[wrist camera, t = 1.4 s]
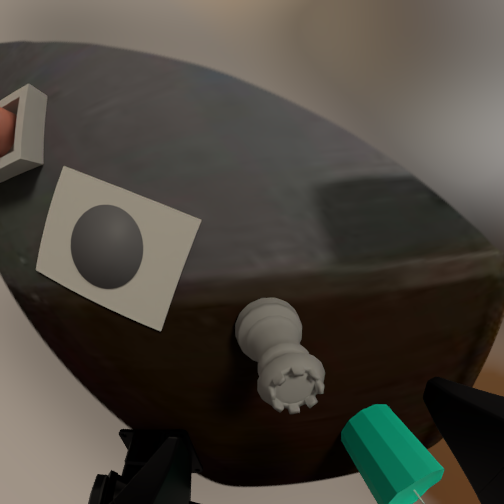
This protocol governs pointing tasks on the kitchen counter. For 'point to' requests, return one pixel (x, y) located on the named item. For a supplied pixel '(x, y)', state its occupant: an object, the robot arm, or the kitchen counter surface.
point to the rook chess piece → (279, 354)
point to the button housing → (25, 131)
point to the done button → (6, 130)
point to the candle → (389, 456)
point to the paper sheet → (115, 246)
